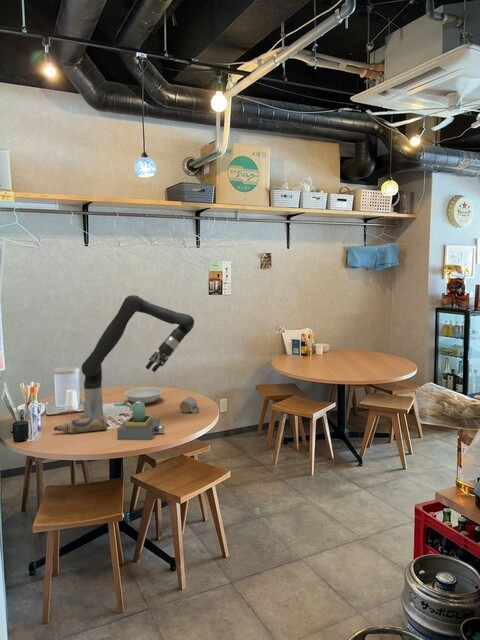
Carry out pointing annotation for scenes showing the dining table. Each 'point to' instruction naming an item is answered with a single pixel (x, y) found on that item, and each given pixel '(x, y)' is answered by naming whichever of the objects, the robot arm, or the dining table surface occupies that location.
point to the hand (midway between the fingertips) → (149, 369)
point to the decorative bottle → (84, 425)
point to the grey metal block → (140, 429)
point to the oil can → (138, 411)
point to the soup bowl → (143, 394)
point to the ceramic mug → (189, 405)
